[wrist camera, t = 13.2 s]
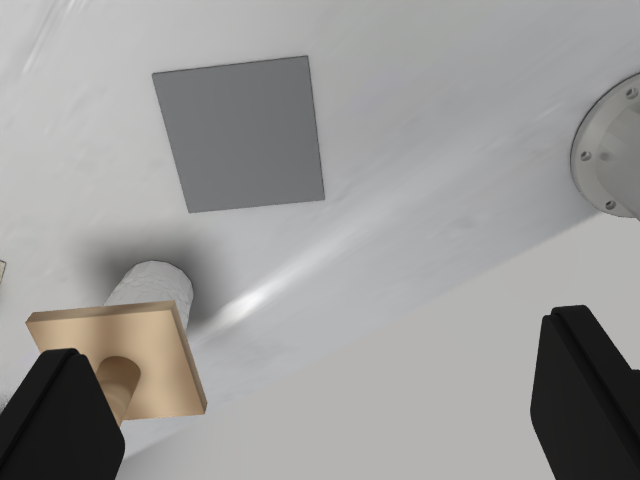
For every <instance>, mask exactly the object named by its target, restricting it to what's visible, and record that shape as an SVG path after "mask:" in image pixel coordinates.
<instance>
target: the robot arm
mask: <svg viewBox="0 0 640 480" xmlns="http://www.w3.org/2000/svg"><path fill="white" fill-rule="evenodd" d="M628 90H629V92H628V93H627V91H628ZM583 152H584V153H583ZM582 153H583V154H582ZM571 171H572V175H573V179H574V182H575V184H576V186H577V188H578V190H579V192H580V193H581V194H582V195H583V196H584V197H585V198H586V200H587V201H589V202H590V203H591V204H592V205H593V206H594V207H596V208H597V209H599V210H601V211H603V212H605V213H607V214H611V215H615V216H618V217H629V218H637V219H638V220H639V221H640V74H638V75H636V76H634V77H632V78H630V79H627V80H626V81H624V82H623V83H621V84H620V85H618V86H617V87H615V88H614V89H612V90H611V91H610V92H609V93H607V94H606V95H605V96H604V97H603V98H602V99H601V100H600V101H598V103H597V104H596V105H595V106H594V107H593V109H592V110H591V111H590V112H589V113H588V115H587V116H586V118H585V120H584V121H583V123H582V125H581V126H580V128H579V130H578V133H577V135H576V138H575V140H574V143H573V148H572V153H571ZM530 414H531V420H532V424H533V427H534V429H535V432H536V434H537V437H538V439H539V441H540V444H541V446H542V448H543V450H544V453H545V455H546V458H547V460H548V462H549V465H550V467H551V469H552V472H553V474H554V477H555V479H556V480H640V370H632V369H631V368H630V366H629V365H628V363H627V362H626V361H625V359H624V358H623V356H622V355H621V354H620V352H619V351H618V349H617V348H616V347H615V346H614V344H613V342H612V341H611V339H610V338H609V337H608V335H607V334H606V332H605V331H604V330H603V328H602V327H601V325H600V324H599V322H598V321H597V319H596V318H595V317H594V315H593V314H592V312H591V311H590V310H589V308H588V307H587V306H585V305H575V306H563V307H555V308H553V309H552V311H551V315H545V316H544V317H543V319H542V325H541V332H540V339H539V347H538V355H537V362H536V370H535V377H534V384H533V392H532V400H531V407H530ZM124 452H125V440H124V437H123V435H122V433H121V430H120V428H119V426H118V424H117V422H116V419H115V417H114V415H113V413H112V411H111V408H110V406H109V404H108V402H107V399H106V397H105V395H104V393H103V391H102V388H101V386H100V384H99V382H98V380H97V377H96V375H95V373H94V371H93V368H92V366H91V364H90V362H89V360H88V358H87V356H86V355H84V354H80V353H79V351H78V350H77V349H75V348H63V349H51V350H46V351H44V352H42V354H41V355H40V356H39V357H38V359H37V360H36V362H35V363H34V365H33V366H32V368H31V369H30V371H29V372H28V374H27V375H26V377H25V378H24V380H23V381H22V383H21V384H20V386H19V387H18V389H17V390H16V392H15V393H14V395H13V396H12V398H11V399H10V401H9V402H8V404H7V405H6V407H5V408H4V410H3V412H2V413H1V415H0V480H115V478H116V475H117V472H118V470H119V467H120V464H121V462H122V459H123V456H124Z"/></svg>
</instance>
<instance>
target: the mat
mask: <svg viewBox="0 0 640 480" xmlns="http://www.w3.org/2000/svg"><path fill="white" fill-rule="evenodd" d="M152 79H153V82H154V86H155V90H156V93H157V97H158V101H159V105H160V108H161V112H162V116H163V119H164V123H165V127H166V131H167V134H168V138H169V142H170V145H171V149H172V153H173V157H174V160H175V164H176V168H177V171H178V175H179V179H180V183H181V186H182V190H183V194H184V197H185V201H186V205H187V209H188V212H189V213H197V212H207V211H217V210H227V209H238V208H248V207H258V206H268V205H278V204H288V203H298V202H309V201H319V200H324V191H323V182H322V174H321V165H320V157H319V149H318V140H317V132H316V123H315V115H314V106H313V98H312V90H311V81H310V73H309V64H308V56H301V57H293V58H284V59H275V60H267V61H258V62H249V63H241V64H232V65H223V66H215V67H206V68H197V69H189V70H180V71H171V72H163V73H154V74H152Z"/></svg>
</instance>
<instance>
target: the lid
mask: <svg viewBox="0 0 640 480" xmlns="http://www.w3.org/2000/svg"><path fill="white" fill-rule="evenodd" d="M25 323H26V325H27V327H28V329H29V331H30V333H31V335H32V337H33V339H34V341H35V343H36V345H37V347H38V349H39V351H40V353H41V354H42V352H44V351H46V350H51V349H63V348H75V349H77V350H78V351H79V353H80V354H84V355H86V356H87V358H88V360H89V362H90V364H91V366H92V368H93V371H94V373H95V375H96V377H97V380H98V382H99V384H100V386H101V388H102V391H103V393H104V395H105V397H106V399H107V402H108V404H109V406H110V408H111V411H112V413H113V415H114V417H115V419H116V422H117V424H118V426H119V428H120V425H121V423H122V421H123V420H135V419H148V418H162V417H175V416H189V415H202V414H205V411H206V407H207V400H206V397H205V394H204V391H203V388H202V385H201V381H200V378H199V375H198V372H197V369H196V366H195V363H194V359H193V356H192V353H191V350H190V347H189V344H188V340H187V337H186V334H185V331H184V328H183V325H182V322H181V318H180V315H179V312H178V309H177V306H176V303H175V300H169V301H157V302H146V303H135V304H124V305H112V306H101V307H90V308H78V309H67V310H56V311H45V312H33V313H32V314H31V316H30V317H29V318H28V320H27V321H26V322H25Z"/></svg>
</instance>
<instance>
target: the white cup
mask: <svg viewBox="0 0 640 480" xmlns="http://www.w3.org/2000/svg"><path fill="white" fill-rule="evenodd" d="M193 297H194V293H193V288H192V284H191V281H190V280H189V279H188V278H187V276H186V275H185V274H184V273H183V271H182V270H180V269H178V268H176V267H175V266H173V265H171V264H169V263H166V262H159V261H153V260H151V261H147V262H143V263H139V264H136V265H135V266H134V267H133V268H131V269H130V270H129V271H128V272H127V273H126V274H125V276H124V277H123V279H122V280H121V282H120V283H119V284H118V285H117V287H116V288H115V289H114V290H113V292H112V293H111V295H110V296H109V298H108V299H107V300H106V301H105V303H104V304H103V306H112V305H124V304H135V303H146V302H157V301H169V300H175V303H176V306H177V309H178V312H179V315H180V318H181V322H182V325H183V328H184V331H185V332H186V328H187V324H188V319H189V311H190V307H191V304H192V300H193Z"/></svg>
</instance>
